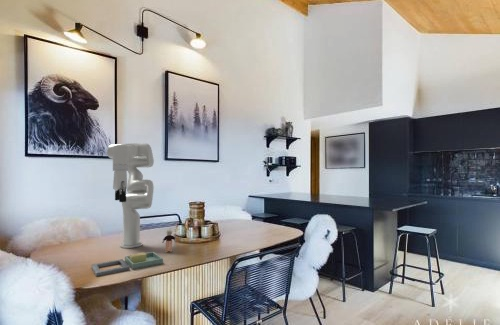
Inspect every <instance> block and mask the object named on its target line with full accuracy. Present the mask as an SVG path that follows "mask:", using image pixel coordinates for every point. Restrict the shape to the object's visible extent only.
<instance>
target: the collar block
mask: <svg viewBox="0 0 500 325" xmlns="http://www.w3.org/2000/svg"><path fill="white" fill-rule="evenodd" d="M115 265H119V267H113V268H106V269H103V270H101V268H105V267H110V266H115ZM90 266H91V270H92V271H93V273H94V275H95V277H100V276H106V275H111V274H115V273H116V274H117V273H121V272H122V273H123V272H126V271H130V269H131V267H130V266H129V265H128V264H127V263H126V262H125V259H123V258H121V259H116V260H115V259H114V260H109V261H104V262H99V263H91V264H90Z"/></svg>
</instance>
